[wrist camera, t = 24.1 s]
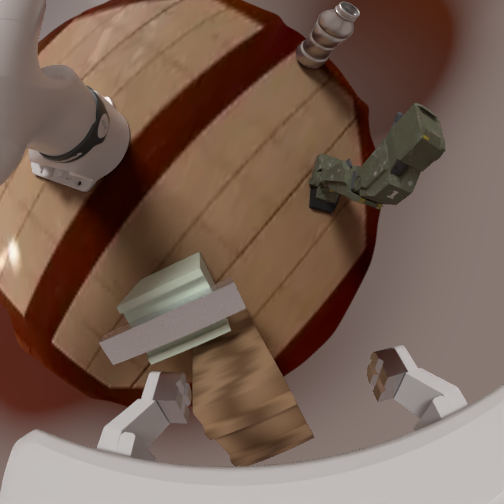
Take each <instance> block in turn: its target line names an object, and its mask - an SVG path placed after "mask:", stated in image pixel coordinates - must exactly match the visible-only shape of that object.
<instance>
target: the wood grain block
mask: <svg viewBox="0 0 504 504" xmlns="http://www.w3.org/2000/svg"><path fill="white" fill-rule="evenodd" d="M227 319H228V322H229V325H230V328H231V331H229V332H227V333H225V334H223V335H220V336H218V337H216V338H214V339H211V340H209V341H207V342H205V343H202V344H200V345H198V346H195V347H193V414H194V415H195V416H196V417H197V419H198V420H199V421H200V422H201V424H202V425H203V426H204V433H205V435H206V436H207V437H208V438H209V439H210V440H212V439H215V440H216V441H217V442H218V443H219V444H220V445H221V446H222V448H223V449H224V450H225V451H226V452H227V453H228V454H229V455H230V460H231V462H232V464H233V465H234V466H249V465H252V464H255V463H257V462H260V461H263V460H265V459H268V458H270V457H273V456H275V455H277V454H280V453H282V452H285V451H287V450H289V449H291V448H293V447H296V446H298V445H300V444H302V443H304V442H306V441H308V440H310V439H312V438H314V436H313V433H312V432H311V430H310V428H309V426H308V424H307V423H306V421H305V419H304V417H303V415H302V413H301V411H300V409H299V407H298V405H297V402H296V400H295V399H294V396H293V395H292V393H291V391H290V389H289V387H288V385H287V383H286V381H285V379H284V377H283V375H282V373H281V372H280V370H279V368H278V366H277V365H276V363H275V361H274V359H273V358H272V356H271V354H270V352H269V350H268V349H267V347H266V345H265V343H264V341H263V340H262V338H261V336H260V334H259V332H258V331H257V329H256V327H255V325H254V323H253V321H252V320H251V318H250V316H249V314H248V312H247V310H246V309H244V310H241V311H239V312H237V313H235V314H233V315H231V316H229V317H227Z"/></svg>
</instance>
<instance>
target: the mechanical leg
mask: <svg viewBox="0 0 504 504" xmlns="http://www.w3.org/2000/svg"><path fill="white" fill-rule="evenodd" d="M437 118H438V116H437V115H436V114H434V113H433V112H432V111H430V110H429V109H427V108H426V107H424V106H423V105H420V104H417V103H415V104H413V106H412V107H411V108H410V109H409V110H408V111H407V112H406V113H405V114H404V115H403V114H402V113H399V112H398V113H397V114H396V117H395V120H394V123H393V125H392V128H391V130H390V132H389V134H388V136H387V138H386V139H384V140H383V141H382V142H381V143H380V145H379V146H378V147H377V148H376V150H375V151H374V152H373V153H372V154H371V156H370V157H369V158H368V159H367V160H366V162H365V163H364V164H363V166H362V167H360V166H357V167H356V166H354V165H352V164H351V161H350V159H348V160H347V161H342V160H339V159H336V158H333V157H330V156H327V155H324V154H320V155H319V156H317V158H316V164H315V170H314V171H313V177H312V178H310V180H309V184H310V185H312V186H311V191H310V204H309V207H310V208H312V209H316V210H320V211H324V212H328V213H332V212H334V210H335V207H336V205H337V202H338V199H339V196H340V194H342V195H344V196H347V197H348V198H349V199H351V200H353V201H355V202H358V203H362V204H363V203H364V204H367V205H369V206H371V207H374V208H377V209H380V208H381V207H382V206H383V205H382V204H392V205H397V204H398V203H399V202H401V201H402V200H403V199H405V198H406V197H407V196H408V195H410V194H411V193H412V191H413V189H414V187H415V185H416V182H417V180H418V177H419V175H420V172H421V171H424V170H425V169H426V168H427V167H428V166H429V165H430V164H431V163H432V162H434V161H436V160H437V159H439V158H440V157H441V155H442V154H443V152H444V151H445V141H444V138H443V135H442V129H441V125H440V121H439V120H438V119H437ZM378 202H379V203H378Z"/></svg>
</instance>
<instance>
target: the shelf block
mask: <svg viewBox="0 0 504 504" xmlns="http://www.w3.org/2000/svg"><path fill="white" fill-rule="evenodd" d="M214 284H215V283H214V281H213V279H212V277H211V275H210V273H209V271H208V269H207V267H206V264H205V262H204V260H203V258H202V256H201V254H200V252H198V253H196V254H193V255H191V256H189V257H187V258H185V259H183V260H181V261H179V262H176V263H174V264H172V265H170V266H168V267H166V268H164V269H162V270H160V271H158V272H155V273H153V274H151V275H149V276H147V277H145V278H143V279H141V280H140V281H139V282H138V283H137V284H136V285H135V287H134V288H133V289H132V290H131V291H130V292H129V293H128V294H127V295H126V297H125V298H124V299H123V300H122V301H121V302H120V303H119V305H118V306H117V307H116V308H117V309H118V311H119V313H120V314H121V313H123V314H124V316H125V318H126V319H127V321H128V323H131V322H133V321H135V320H137V319H140V318H142V317H144V316H146V315H148V314H151V313H153V312H155V311H157V310H160V309H162V308H164V307H166V306H168V305H171V304H173V303H175V302H177V301H179V300H182V299H184V298H186V297H188V296H190V295H192V294H195V293H197V292H199V291H201V290H203V289H205V288H208V287H210V286H212V285H214ZM229 331H231V328H230V325H229V322H228V319H227V317H226V318H224V319H222V320H220V321H218V322H215V323H213V324H211V325H209V326H207V327H204V328H202V329H200V330H198V331H195V332H193V333H191V334H188V335H186V336H184V337H181V338H179V339H177V340H174V341H172V342H170V343H167V344H165V345H163V346H160V347H158V348H155V349H153V350H151V351H148V352H146V353H147V354H148V358H147V359H148V361H149V362H150V364H154V363H157V362H159V361H162V360H164V359H167V358H169V357H171V356H174V355H176V354H179V353H181V352H184V351H186V350H188V349H191V348H193V347H195V346H198V345H200V344H202V343H205V342H207V341H209V340H211V339H214V338H216V337H218V336H220V335H223V334H225V333H227V332H229Z"/></svg>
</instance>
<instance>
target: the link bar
mask: <svg viewBox="0 0 504 504" xmlns="http://www.w3.org/2000/svg"><path fill="white" fill-rule="evenodd" d="M244 309H246V307H245V304H244V302H243V300H242V298H241V296H240V294H239V292H238V290H237V288H236V285H235V283H234V281H233V280H232V278H231V277H229V278H227V279H225V280H223V281H221V282H218V283H216V284H214V285H212V286H210V287H208V288H205V289H203V290H201V291H199V292H197V293H195V294H192V295H190V296H188V297H186V298H184V299H182V300H179V301H177V302H175V303H173V304H171V305H168V306H166V307H164V308H162V309H160V310H157V311H155V312H153V313H151V314H148V315H146V316H144V317H142V318H140V319H137V320H135V321H133V322H131V323H128V324H126V325H124V326H122V327H119V328H117V329H115V330H113V331H110V332H108V333H106V334H105V335H104V336H103V338H102V339H101V341H100V342H99V344H100V346H101V347H102V349H103V350H104V352H105V354H106V355H107V357H108V358H109V360H110V361H111V363H112V364H113V365H115V364H118V363H120V362H123V361H126V360H128V359H131V358H133V357H136V356H138V355H141V354H143V353H146V352H148V351H151V350H153V349H155V348H158V347H160V346H163V345H165V344H167V343H170V342H172V341H174V340H177V339H179V338H181V337H184V336H186V335H188V334H191V333H193V332H195V331H198V330H200V329H202V328H204V327H207V326H209V325H211V324H213V323H215V322H218V321H220V320H222V319H224V318H226V317H229V316H231V315H233V314H235V313H237V312H239V311H241V310H244Z"/></svg>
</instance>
